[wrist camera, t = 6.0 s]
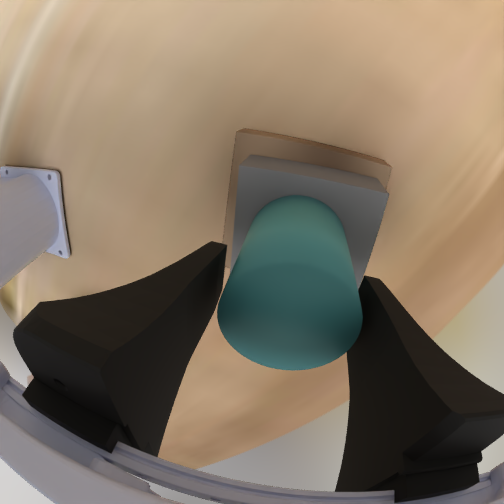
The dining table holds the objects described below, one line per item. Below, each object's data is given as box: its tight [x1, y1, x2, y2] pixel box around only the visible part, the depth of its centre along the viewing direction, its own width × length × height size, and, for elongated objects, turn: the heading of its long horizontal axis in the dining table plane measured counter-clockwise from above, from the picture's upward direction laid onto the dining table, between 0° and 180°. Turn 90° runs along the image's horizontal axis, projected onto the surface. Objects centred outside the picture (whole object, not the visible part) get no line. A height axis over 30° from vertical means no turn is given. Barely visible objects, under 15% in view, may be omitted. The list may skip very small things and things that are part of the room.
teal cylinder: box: [217, 195, 363, 370], centre depth 11 cm, size 4×4×6 cm
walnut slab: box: [223, 129, 392, 268], centre depth 16 cm, size 8×8×2 cm
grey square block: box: [230, 154, 389, 289], centre depth 14 cm, size 6×6×2 cm
